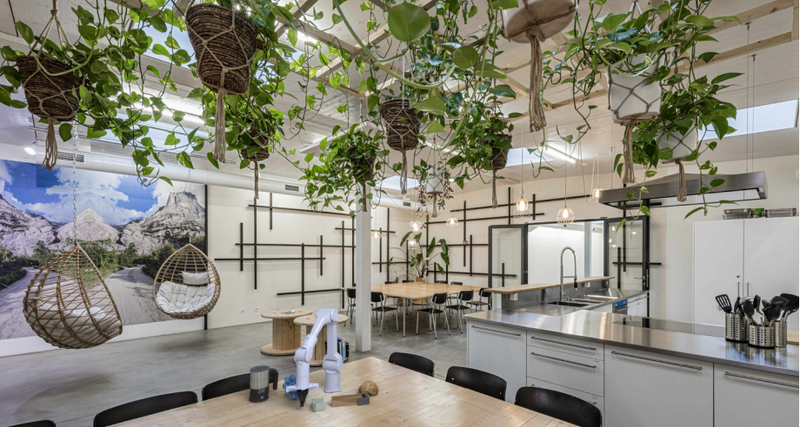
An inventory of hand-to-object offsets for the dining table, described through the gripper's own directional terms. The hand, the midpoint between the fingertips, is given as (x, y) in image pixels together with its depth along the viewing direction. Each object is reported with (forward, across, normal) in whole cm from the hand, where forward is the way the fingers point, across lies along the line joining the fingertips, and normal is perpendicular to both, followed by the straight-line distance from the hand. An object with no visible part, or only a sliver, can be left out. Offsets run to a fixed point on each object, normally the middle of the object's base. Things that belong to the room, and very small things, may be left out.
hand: (302, 406), depth 170 cm
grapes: (+2, -3, +13) cm, 13 cm away
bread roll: (+2, +34, +10) cm, 35 cm away
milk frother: (+2, -19, +24) cm, 31 cm away
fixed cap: (+2, +28, 0) cm, 28 cm away
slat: (+2, +21, 0) cm, 21 cm away
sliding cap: (+2, +8, 0) cm, 8 cm away
